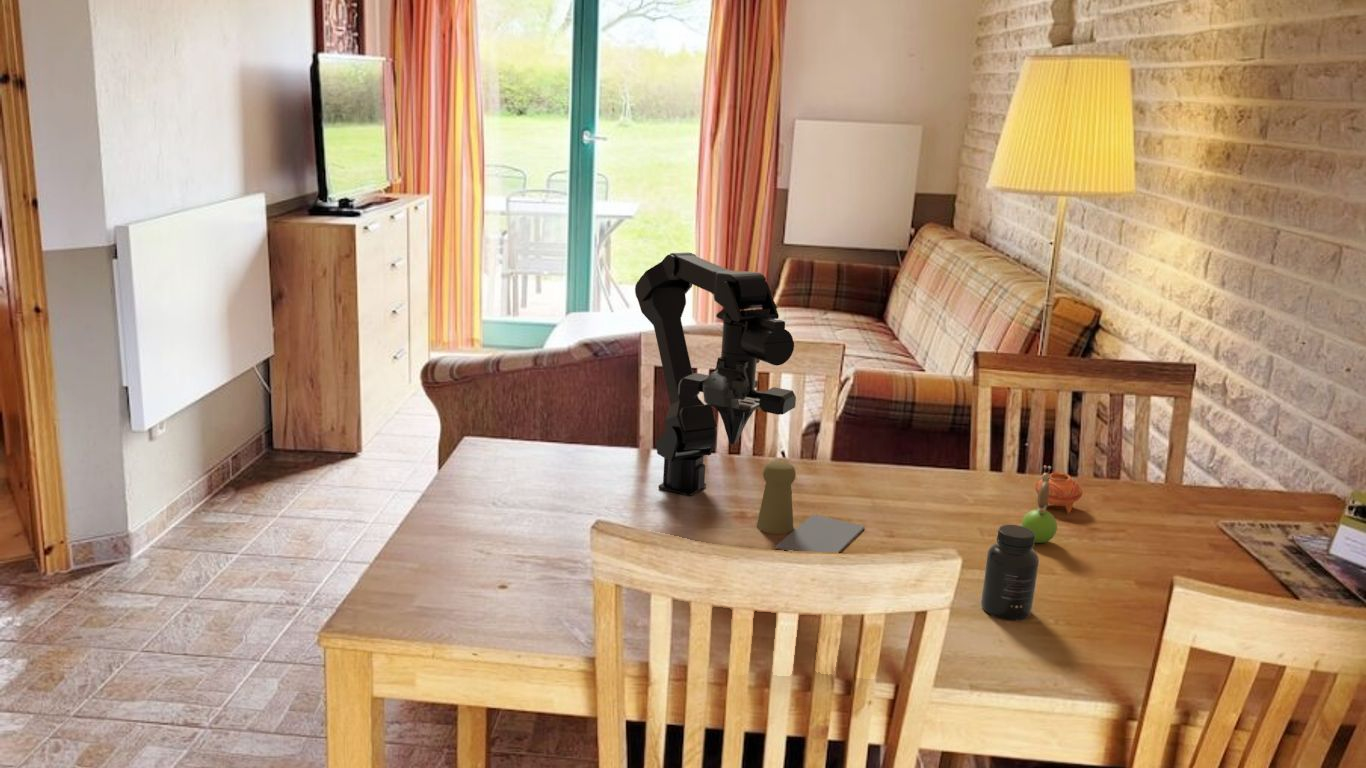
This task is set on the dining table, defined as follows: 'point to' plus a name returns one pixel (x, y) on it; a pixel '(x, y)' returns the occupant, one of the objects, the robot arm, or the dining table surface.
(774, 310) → the robot arm
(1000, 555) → the supplement bottle
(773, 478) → the cork
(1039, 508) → the snail figurine
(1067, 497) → the pot
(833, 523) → the mat
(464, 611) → the dining table surface
